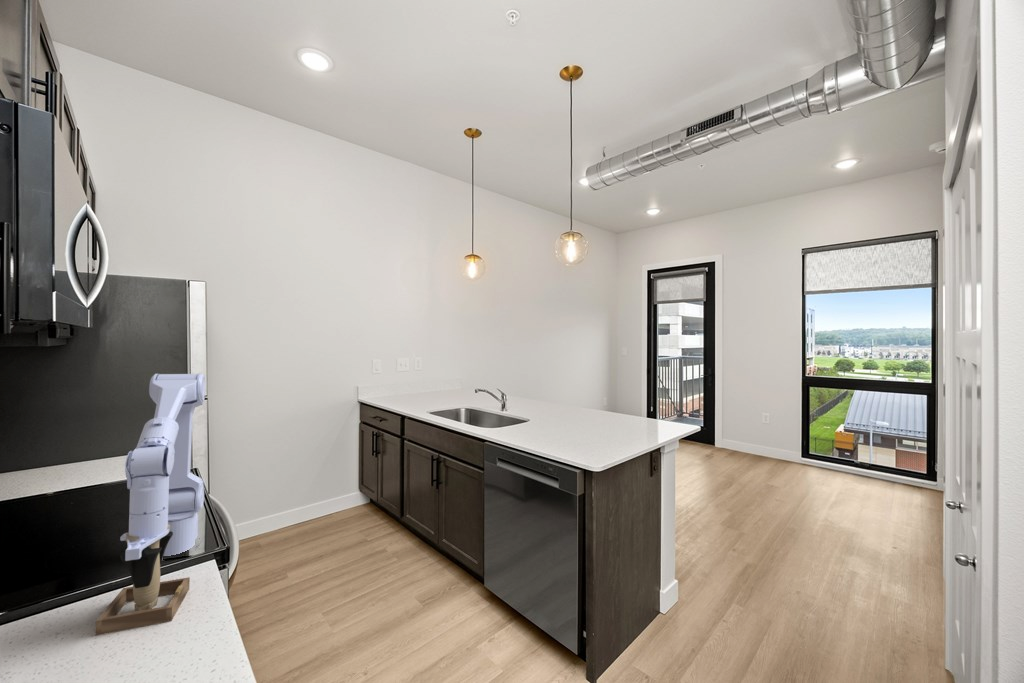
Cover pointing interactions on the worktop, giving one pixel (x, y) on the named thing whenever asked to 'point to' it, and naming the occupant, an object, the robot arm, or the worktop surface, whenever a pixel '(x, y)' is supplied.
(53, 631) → the worktop surface
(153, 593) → the handle
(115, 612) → the collar
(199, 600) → the worktop surface
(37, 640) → the worktop surface
